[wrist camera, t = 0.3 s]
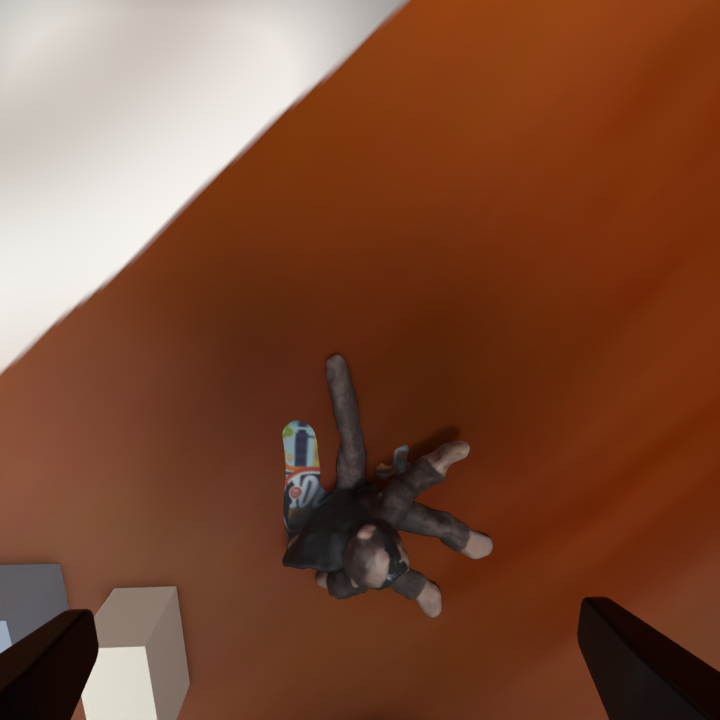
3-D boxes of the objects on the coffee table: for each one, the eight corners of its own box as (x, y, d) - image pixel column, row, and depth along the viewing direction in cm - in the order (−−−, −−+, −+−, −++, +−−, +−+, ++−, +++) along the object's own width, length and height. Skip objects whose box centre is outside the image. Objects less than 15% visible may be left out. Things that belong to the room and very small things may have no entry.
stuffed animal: (389, 653, 25) (229, 667, 16) (330, 510, 31) (195, 466, 23) (552, 531, 23) (467, 474, 14) (451, 406, 30) (353, 318, 21)
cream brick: (190, 681, 26) (163, 755, 22) (133, 683, 26) (94, 758, 22) (177, 584, 24) (144, 646, 21) (115, 586, 24) (71, 649, 20)
